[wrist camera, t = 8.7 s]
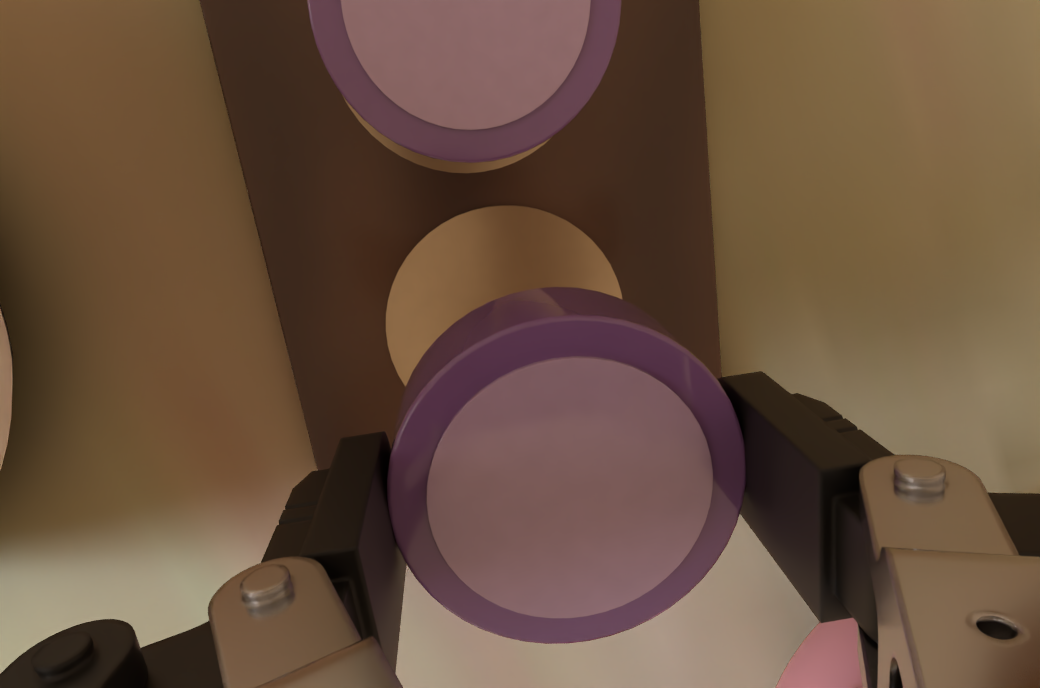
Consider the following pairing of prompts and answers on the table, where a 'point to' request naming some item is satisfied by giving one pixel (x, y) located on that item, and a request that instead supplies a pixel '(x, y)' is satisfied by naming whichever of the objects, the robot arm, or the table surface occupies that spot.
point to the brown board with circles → (461, 208)
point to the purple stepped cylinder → (466, 68)
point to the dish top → (562, 467)
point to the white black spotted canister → (5, 385)
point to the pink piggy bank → (826, 658)
